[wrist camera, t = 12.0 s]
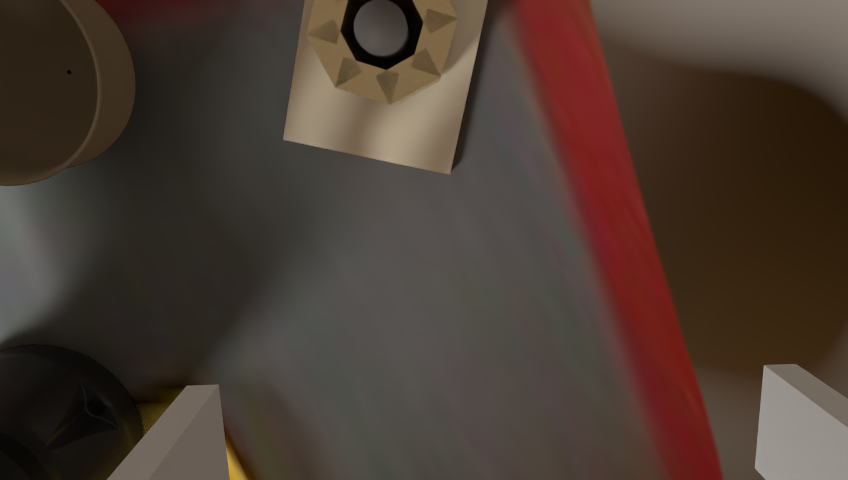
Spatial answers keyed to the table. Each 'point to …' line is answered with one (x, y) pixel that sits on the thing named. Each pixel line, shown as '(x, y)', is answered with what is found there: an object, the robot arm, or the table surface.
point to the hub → (376, 121)
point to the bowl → (59, 86)
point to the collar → (349, 72)
